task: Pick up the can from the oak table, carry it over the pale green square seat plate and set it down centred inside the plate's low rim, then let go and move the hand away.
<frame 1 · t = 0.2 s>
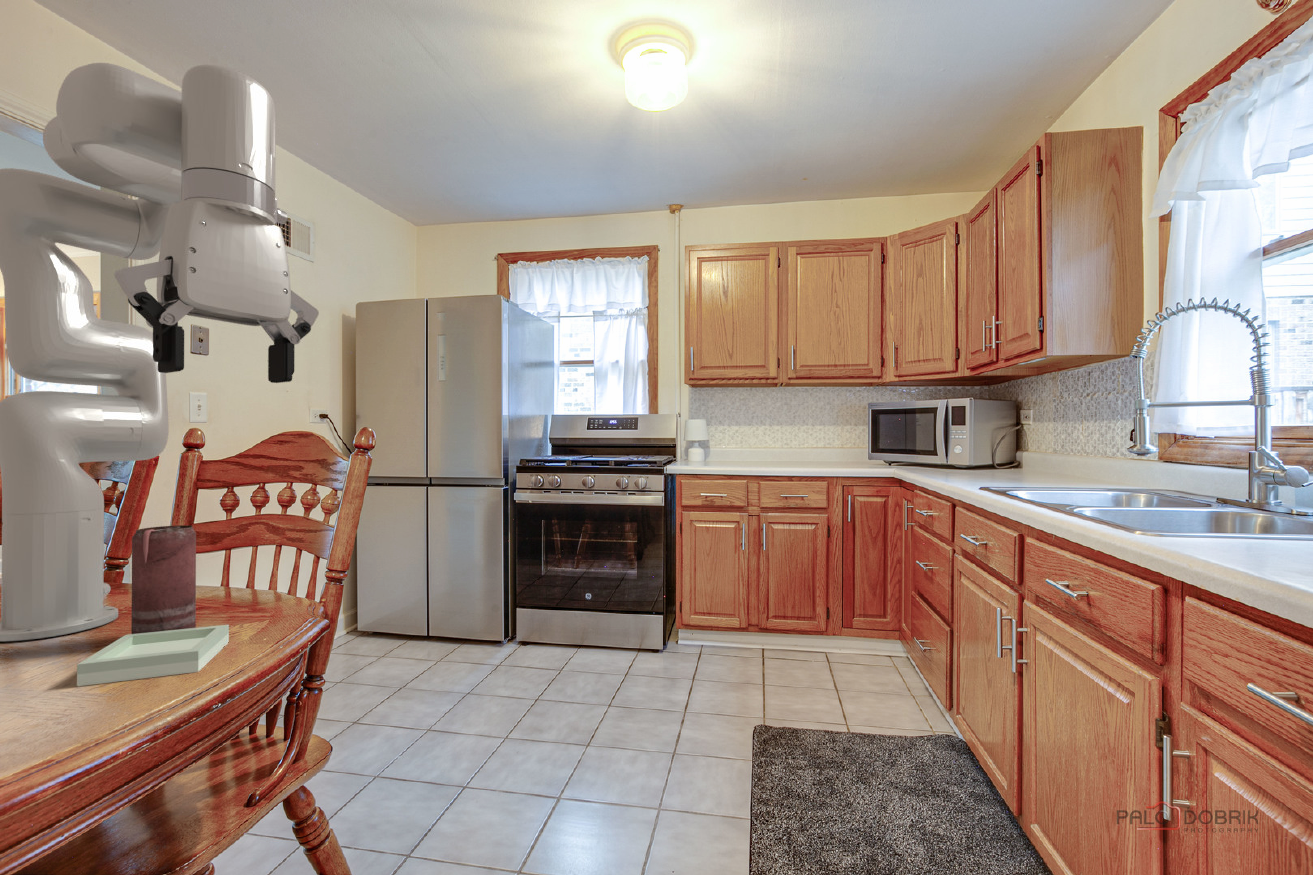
hand: (229, 377, 57), 31 cm above the table, tool pointing down, fingers open, 9 cm apart
seat plate: (160, 662, 65), on the table
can: (163, 641, 73), on the table
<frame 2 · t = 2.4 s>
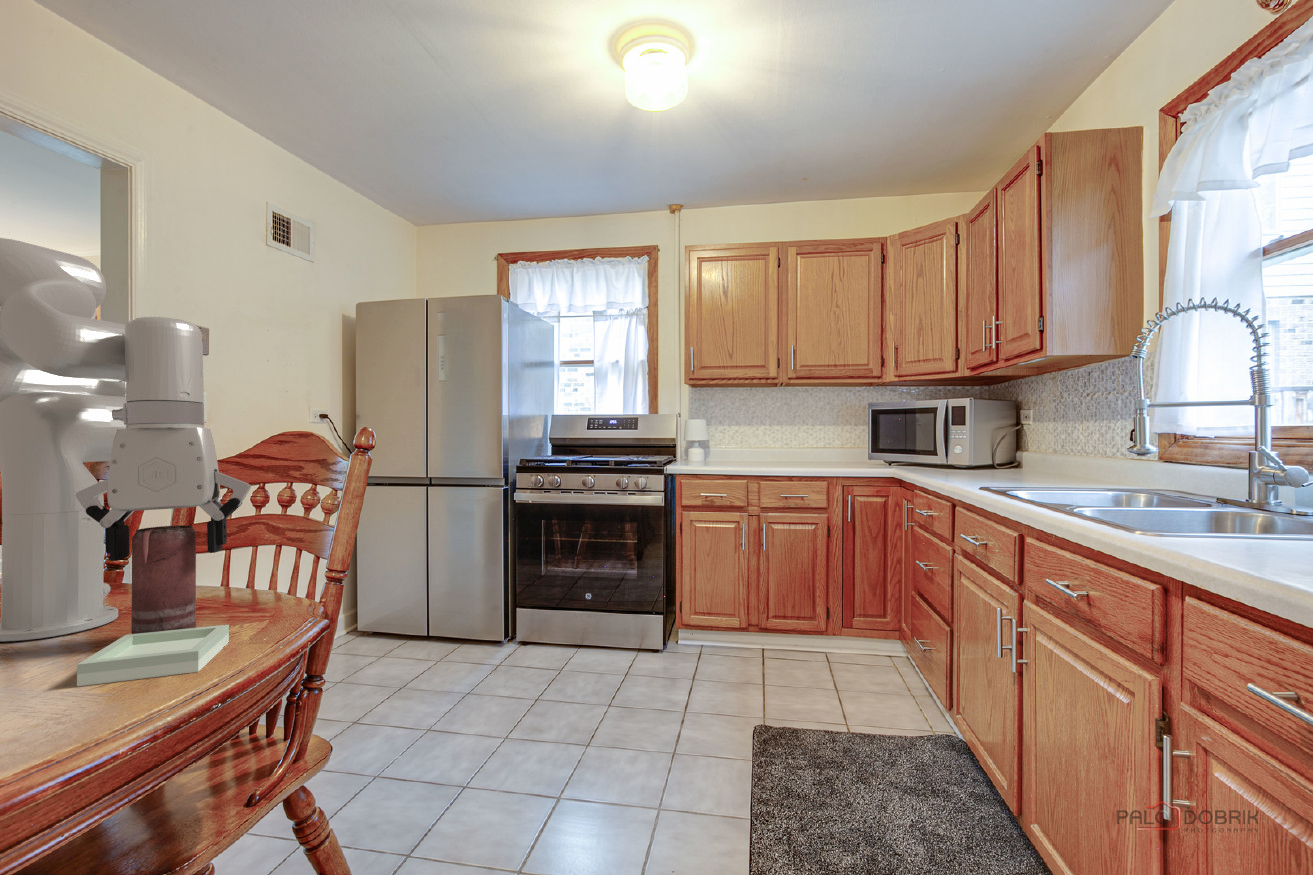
hand: (168, 555, 72), 11 cm above the table, tool pointing down, fingers open, 9 cm apart
nothing on the table moved.
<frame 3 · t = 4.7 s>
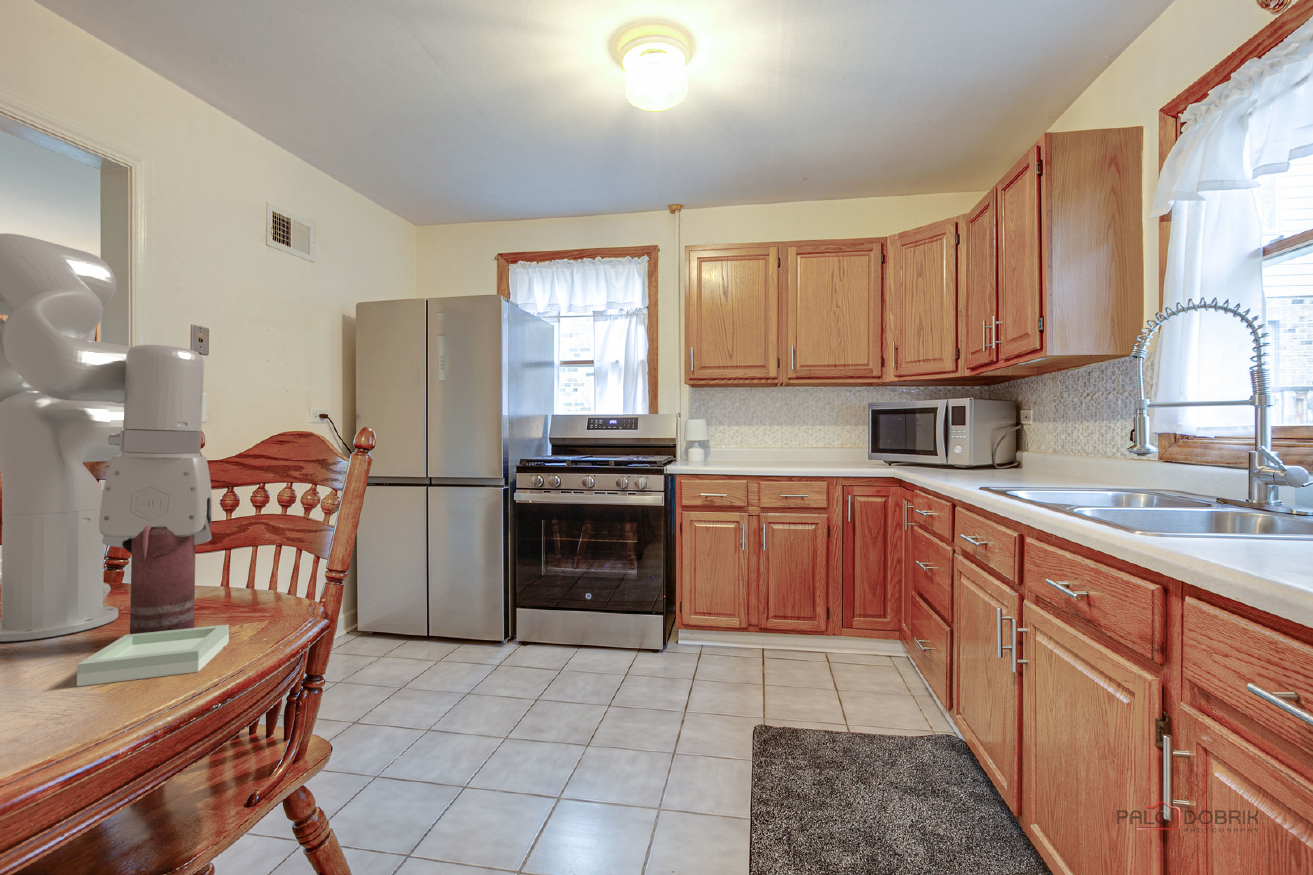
hand: (156, 590, 73), 6 cm above the table, tool pointing down, fingers closed
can: (162, 637, 73), on the table, touching gripper
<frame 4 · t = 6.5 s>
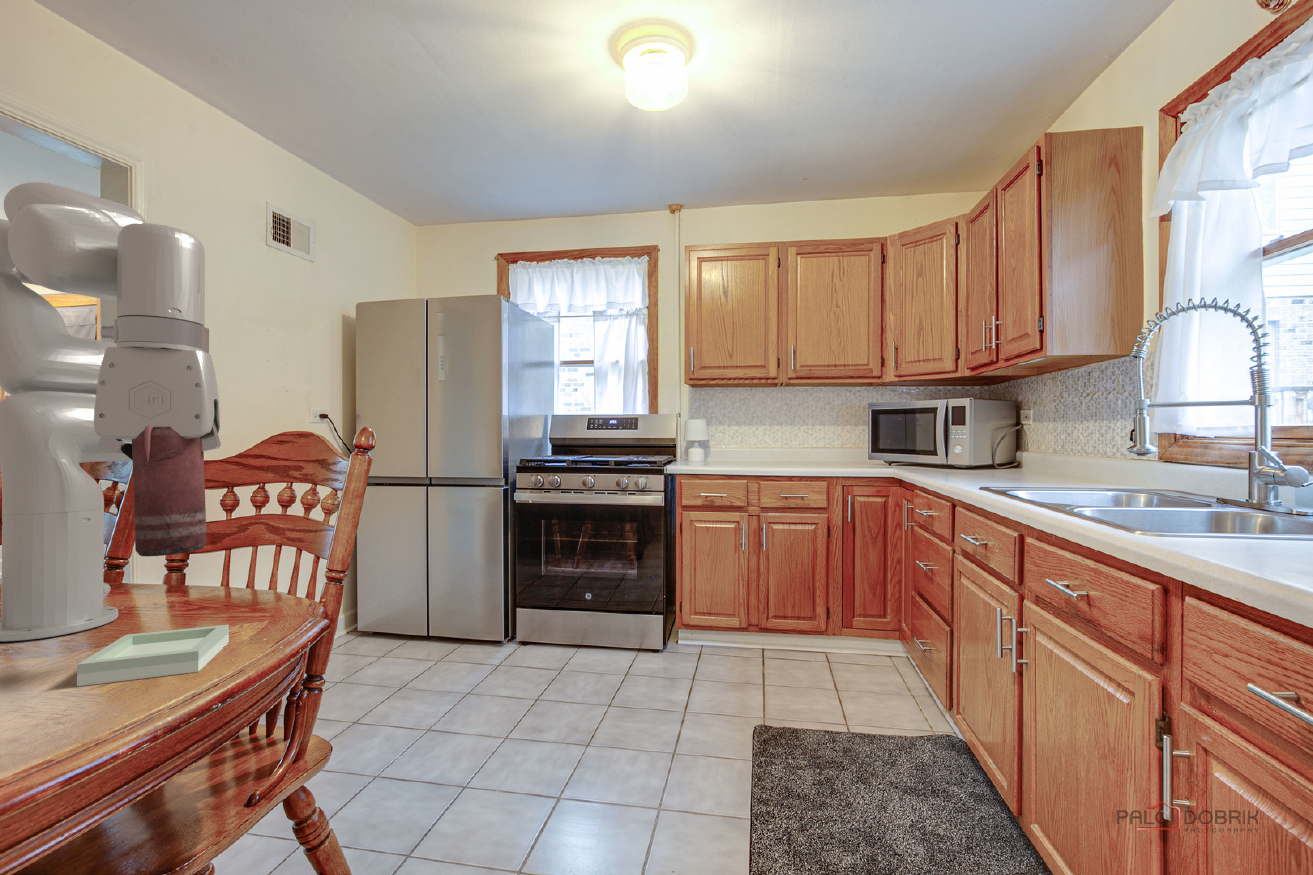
hand: (161, 502, 65), 18 cm above the table, tool pointing down, fingers closed
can: (171, 553, 65), point 12 cm above the table, touching gripper
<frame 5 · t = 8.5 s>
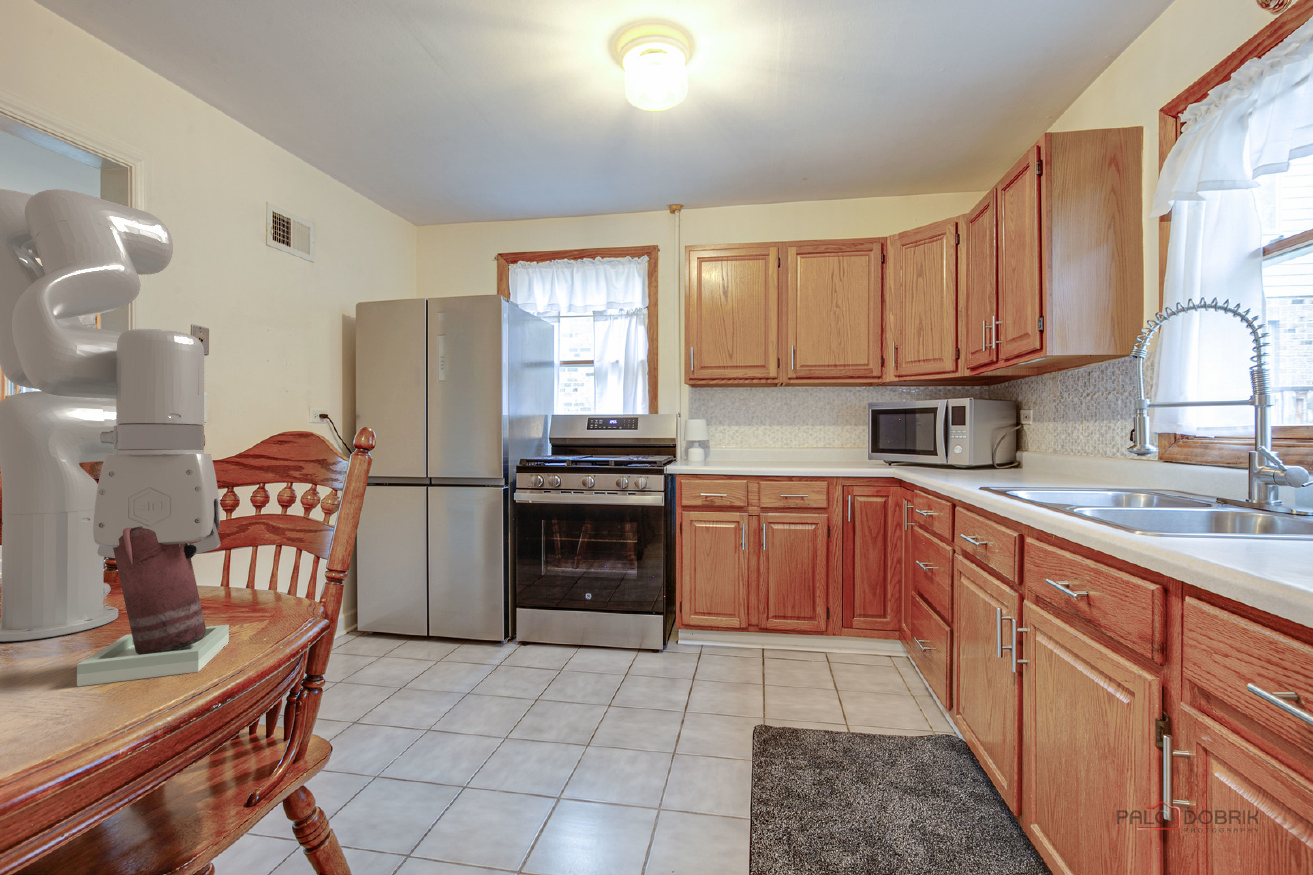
hand: (161, 605, 65), 6 cm above the table, tool pointing down, fingers closed
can: (173, 648, 65), point 2 cm above the table, touching seat plate
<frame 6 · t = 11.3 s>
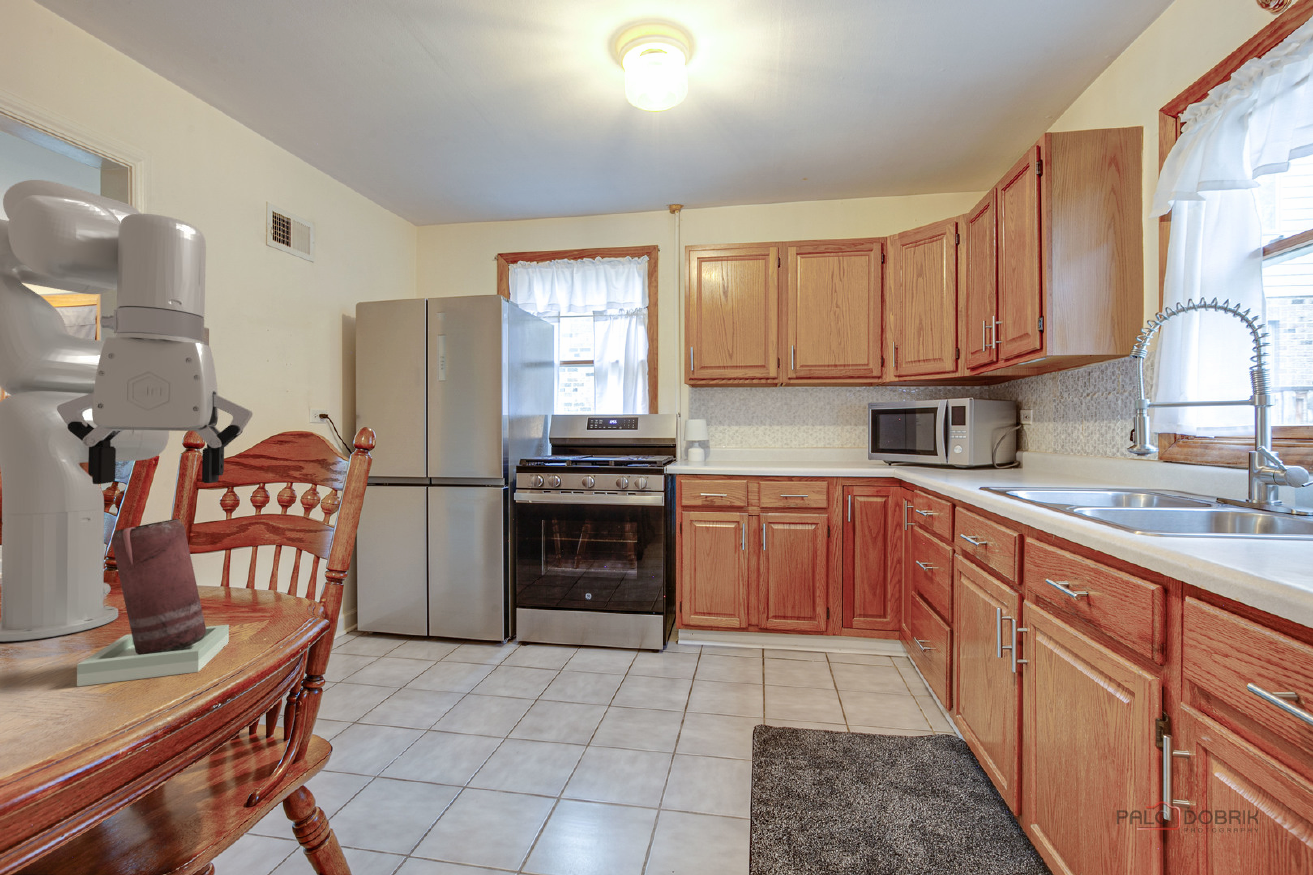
hand: (158, 482, 65), 20 cm above the table, tool pointing down, fingers open, 9 cm apart
nothing on the table moved.
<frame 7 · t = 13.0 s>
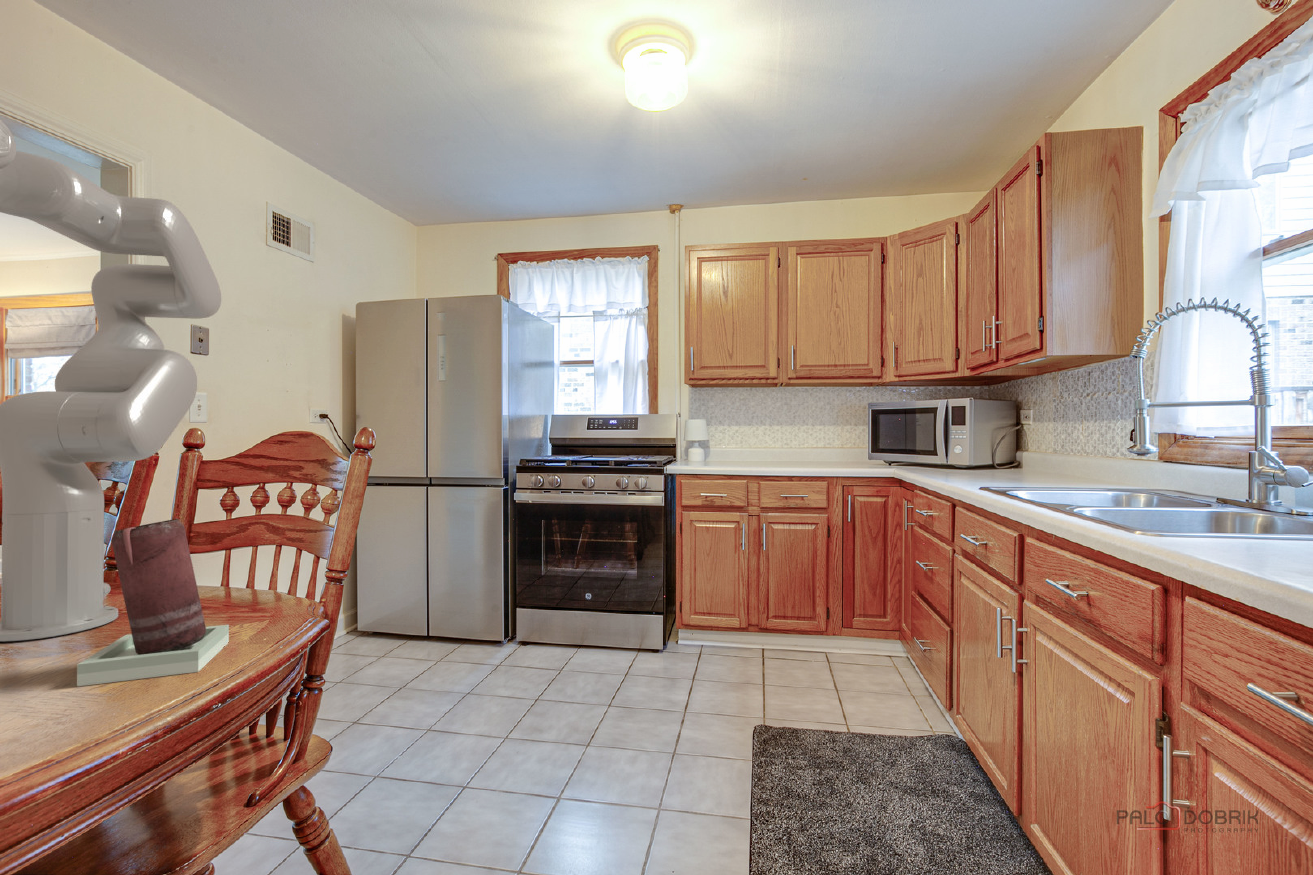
nothing on the table moved.
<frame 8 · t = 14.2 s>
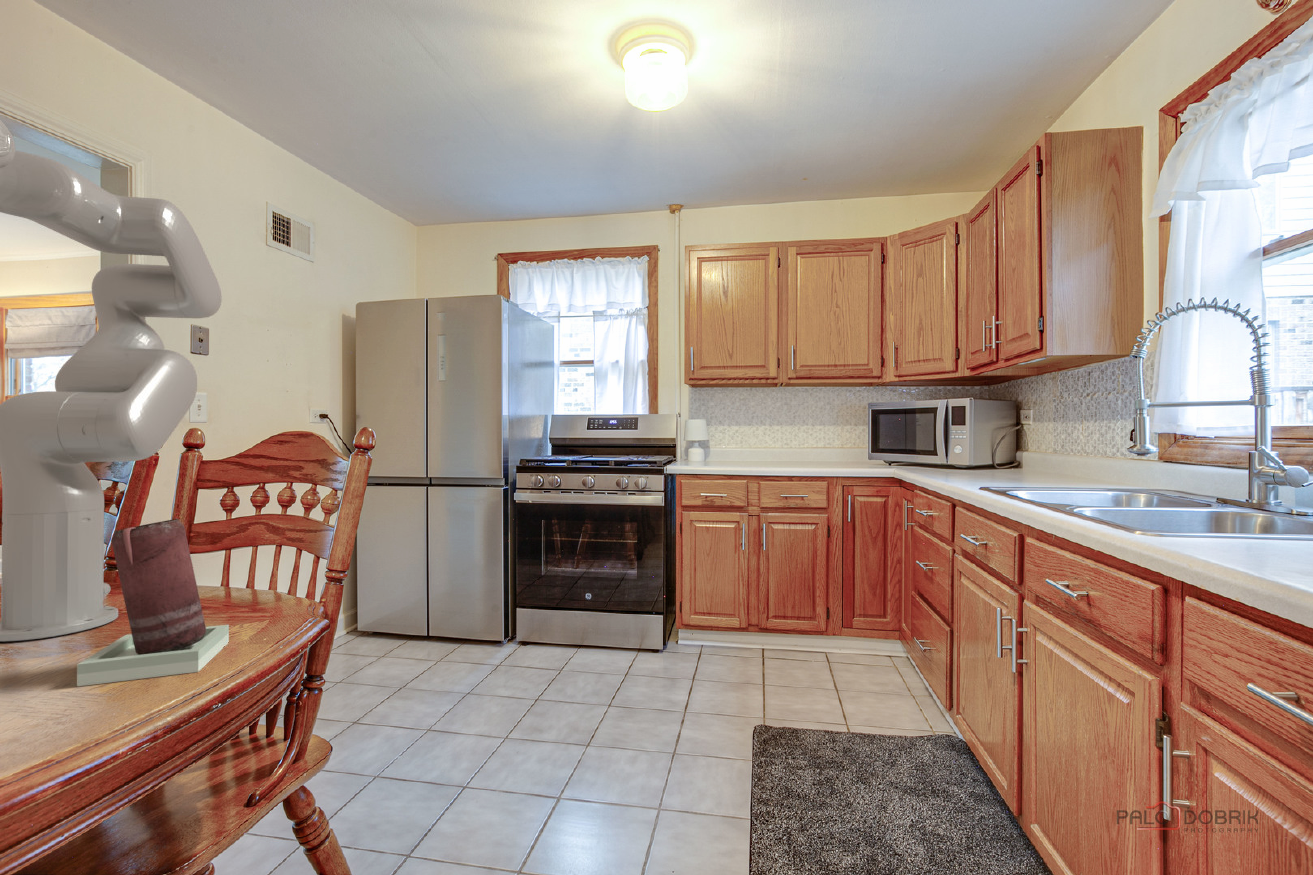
nothing on the table moved.
at the end: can 1.4 cm off-centre on the seat plate, point 1.5 cm above the seat plate's base; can tilted 10°; the gripper is holding nothing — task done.
